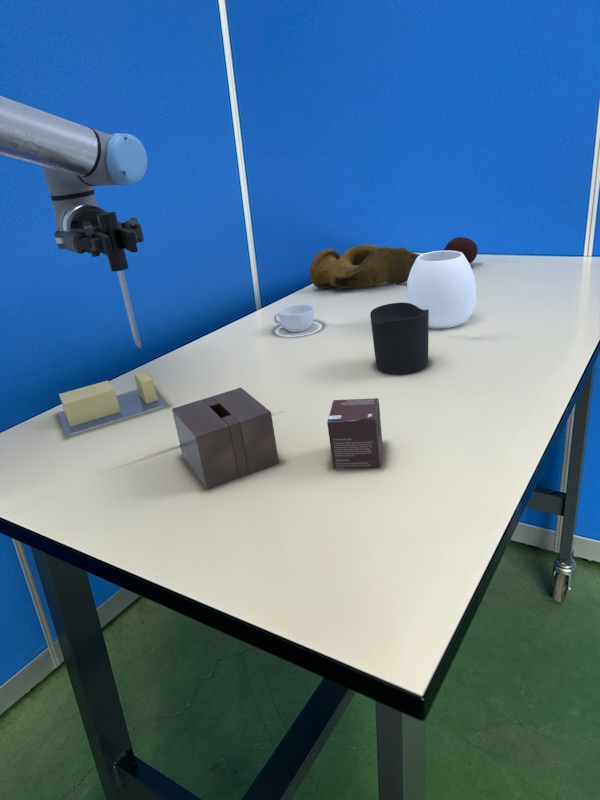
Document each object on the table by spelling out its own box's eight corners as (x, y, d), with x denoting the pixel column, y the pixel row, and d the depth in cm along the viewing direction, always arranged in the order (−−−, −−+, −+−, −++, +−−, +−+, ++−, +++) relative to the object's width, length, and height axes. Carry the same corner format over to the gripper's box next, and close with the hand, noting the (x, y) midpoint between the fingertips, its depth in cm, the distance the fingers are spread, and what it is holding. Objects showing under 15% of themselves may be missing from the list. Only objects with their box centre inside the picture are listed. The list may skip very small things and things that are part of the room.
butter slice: (146, 404, 102) (140, 382, 100) (138, 394, 106) (133, 373, 105) (157, 400, 103) (152, 378, 101) (150, 391, 107) (145, 369, 105)
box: (383, 447, 82) (380, 397, 79) (381, 471, 77) (376, 419, 74) (338, 448, 83) (332, 399, 80) (332, 472, 78) (326, 420, 75)
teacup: (326, 322, 133) (324, 301, 131) (316, 338, 124) (313, 316, 122) (282, 323, 136) (279, 302, 134) (268, 339, 127) (265, 317, 125)
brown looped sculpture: (370, 273, 136) (300, 250, 149) (379, 319, 145) (312, 294, 158) (421, 230, 143) (350, 212, 157) (426, 277, 152) (358, 256, 166)
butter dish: (67, 440, 96) (66, 434, 95) (59, 418, 104) (57, 412, 103) (167, 409, 102) (166, 404, 101) (151, 390, 110) (150, 385, 109)
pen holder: (431, 356, 109) (430, 301, 104) (428, 378, 100) (426, 319, 96) (378, 357, 111) (374, 303, 107) (370, 378, 103) (366, 321, 99)
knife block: (207, 493, 77) (195, 436, 74) (183, 460, 86) (171, 408, 82) (279, 466, 81) (271, 411, 78) (249, 437, 89) (240, 387, 86)
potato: (483, 267, 158) (483, 236, 154) (449, 273, 157) (448, 242, 153) (470, 261, 165) (470, 231, 162) (436, 266, 164) (436, 237, 161)
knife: (132, 350, 95) (99, 215, 86) (127, 345, 97) (95, 214, 89) (148, 345, 96) (117, 212, 87) (143, 341, 98) (113, 211, 90)
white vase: (396, 330, 123) (392, 262, 117) (426, 310, 132) (424, 246, 126) (459, 337, 115) (458, 265, 109) (486, 315, 124) (487, 248, 119)
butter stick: (70, 427, 98) (63, 404, 96) (65, 416, 102) (58, 394, 100) (120, 411, 101) (114, 389, 99) (114, 401, 105) (108, 380, 103)
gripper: (140, 241, 109) (181, 260, 90) (48, 260, 103) (70, 284, 84) (130, 197, 106) (170, 206, 87) (34, 213, 100) (54, 227, 81)
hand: (121, 244), depth 85 cm, fingers closed on knife, 3 cm apart
